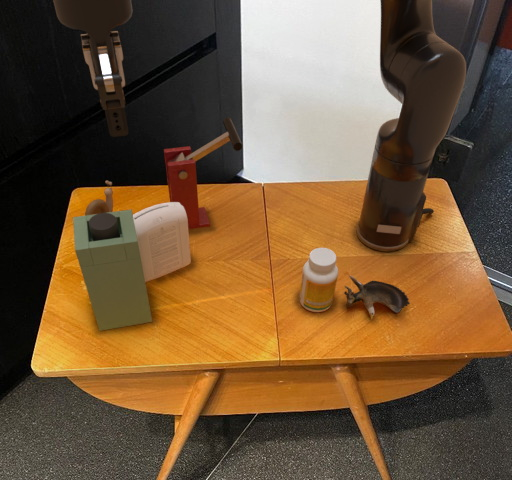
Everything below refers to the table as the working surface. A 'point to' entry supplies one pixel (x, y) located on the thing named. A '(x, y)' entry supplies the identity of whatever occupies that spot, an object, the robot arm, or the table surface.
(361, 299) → the toy triceratops
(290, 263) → the table surface
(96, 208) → the snail figurine
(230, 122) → the wooden lever
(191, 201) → the red lever stand
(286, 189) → the table surface
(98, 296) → the box
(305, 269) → the supplement bottle
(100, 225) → the button
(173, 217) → the photo printer
